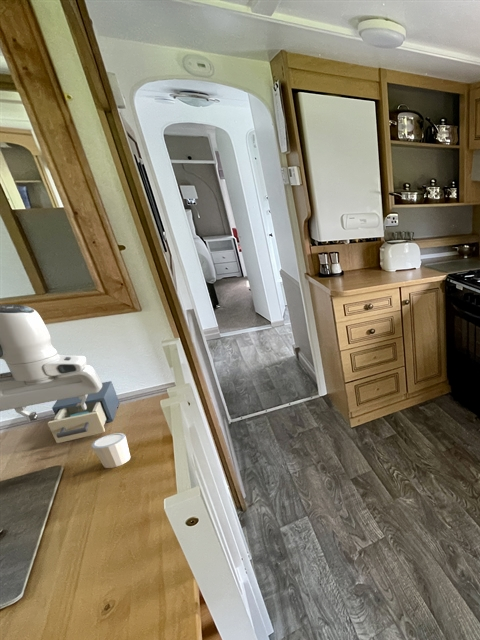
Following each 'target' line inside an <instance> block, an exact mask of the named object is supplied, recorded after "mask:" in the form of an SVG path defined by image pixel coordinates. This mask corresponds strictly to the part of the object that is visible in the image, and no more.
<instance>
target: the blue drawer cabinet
mask: <svg viewBox="0 0 480 640" xmlns="http://www.w3.org/2000/svg"><path fill="white" fill-rule="evenodd" d="M113 384H114V383H113V382H112V380H110V381H105V382H102V388H101V390H100V391H99V392H97V393H93V394H88V396H87V399H86V401H85V404H87V403H92V402H97V401H102V403H103V406H104V408H105V411H106V413H107V419H106V421H105V424H106V423H111V422H114V419H115V418H116V414H117V412H116V410H117V411H118V409H117V407H118V408H119V406H120V400H119V398H118V395H117V392H116V390H115V387H114V385H113ZM81 401H82V399H79V398H78V396H77V397H72V398H67V399H61V400H56V401H55V402H54V404H53V406H52V407H51V409H52V411H53V413H54V415H55V416H56V415H57V413H58V412H59V410H60V409H61V408H66V407H71V406H76V405H77V403H81ZM118 405H119V406H118ZM55 416H54V417H55Z"/></svg>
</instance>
